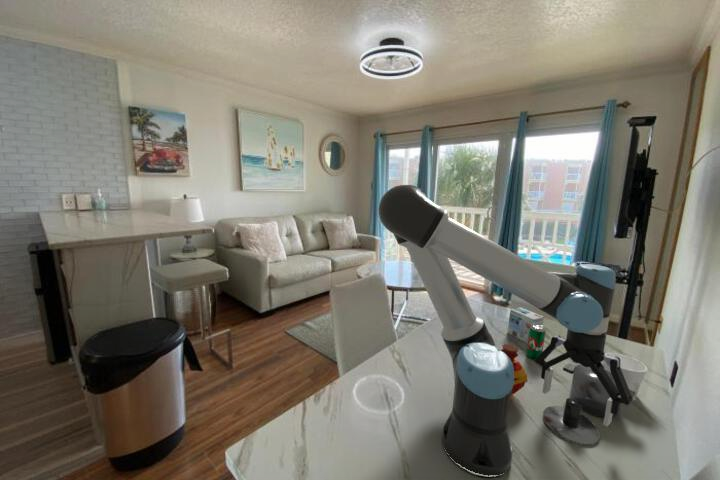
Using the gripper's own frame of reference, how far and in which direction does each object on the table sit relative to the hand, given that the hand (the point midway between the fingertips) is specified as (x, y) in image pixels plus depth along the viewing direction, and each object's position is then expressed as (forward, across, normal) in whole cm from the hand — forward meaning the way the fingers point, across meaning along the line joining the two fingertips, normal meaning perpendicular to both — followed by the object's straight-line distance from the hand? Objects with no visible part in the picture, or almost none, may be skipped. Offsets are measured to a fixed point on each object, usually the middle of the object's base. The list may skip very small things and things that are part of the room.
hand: (574, 406), depth 78 cm
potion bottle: (+6, +16, +3) cm, 18 cm away
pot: (+6, 0, -15) cm, 16 cm away
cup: (+6, -2, -29) cm, 29 cm away
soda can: (+6, +22, -26) cm, 35 cm away
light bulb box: (+6, +32, -38) cm, 50 cm away
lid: (+6, 0, 0) cm, 6 cm away
